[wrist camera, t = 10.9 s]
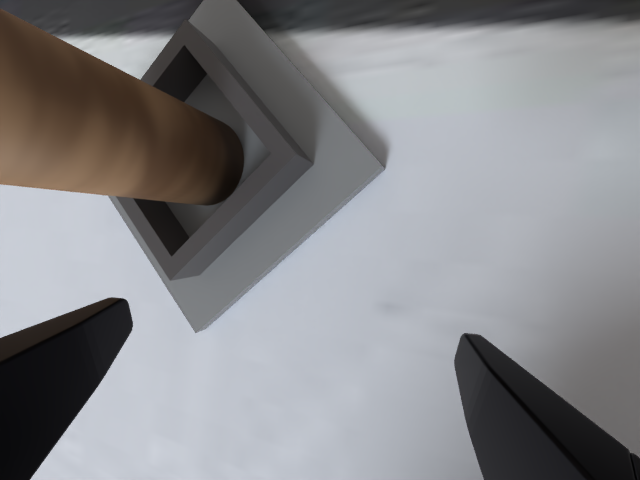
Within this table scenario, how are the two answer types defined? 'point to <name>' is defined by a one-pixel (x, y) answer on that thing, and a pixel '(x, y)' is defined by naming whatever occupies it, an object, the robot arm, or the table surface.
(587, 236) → the table surface
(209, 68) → the collar
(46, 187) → the peg
